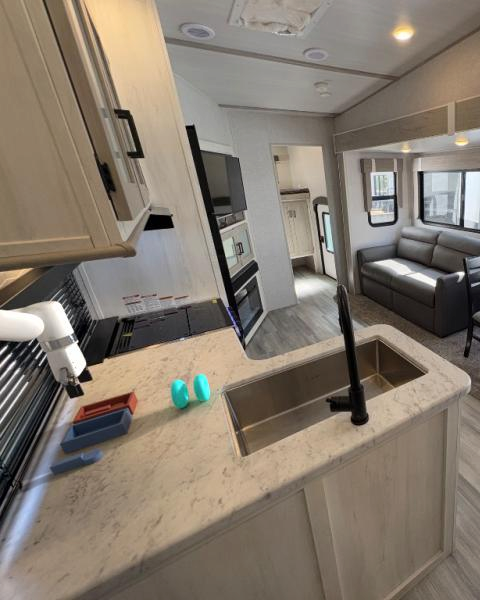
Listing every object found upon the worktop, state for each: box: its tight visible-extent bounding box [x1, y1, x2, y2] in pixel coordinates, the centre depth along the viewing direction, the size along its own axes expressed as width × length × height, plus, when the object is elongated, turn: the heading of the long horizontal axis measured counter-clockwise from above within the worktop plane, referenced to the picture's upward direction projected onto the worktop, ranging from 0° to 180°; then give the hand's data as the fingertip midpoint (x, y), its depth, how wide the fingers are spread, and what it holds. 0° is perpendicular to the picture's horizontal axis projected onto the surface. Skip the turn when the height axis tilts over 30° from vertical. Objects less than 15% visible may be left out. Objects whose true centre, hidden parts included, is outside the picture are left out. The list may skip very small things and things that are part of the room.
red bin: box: [72, 390, 139, 425], centre depth 107 cm, size 15×9×4 cm, turn 122°
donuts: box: [170, 373, 211, 409], centre depth 111 cm, size 10×10×10 cm
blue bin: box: [59, 408, 133, 455], centre depth 99 cm, size 15×9×4 cm, turn 122°
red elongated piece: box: [85, 403, 125, 417], centre depth 107 cm, size 10×4×3 cm, turn 122°
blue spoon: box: [49, 448, 104, 476], centre depth 88 cm, size 10×4×3 cm, turn 122°
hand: (82, 388), depth 99 cm, fingers open, 9 cm apart
